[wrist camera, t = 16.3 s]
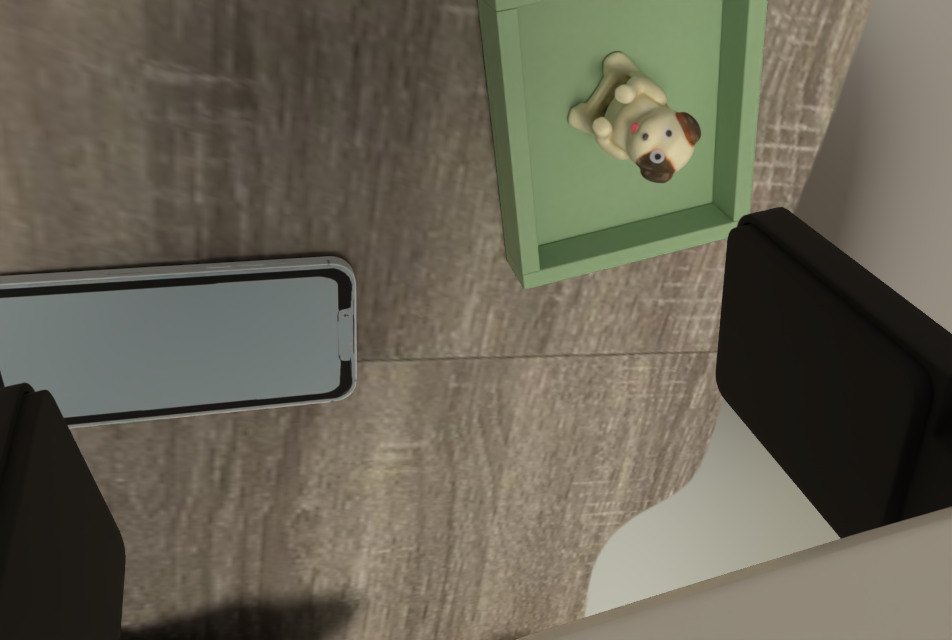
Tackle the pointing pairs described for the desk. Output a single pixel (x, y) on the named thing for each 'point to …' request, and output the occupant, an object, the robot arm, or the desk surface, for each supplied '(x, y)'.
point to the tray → (574, 81)
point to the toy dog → (636, 121)
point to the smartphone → (182, 338)
